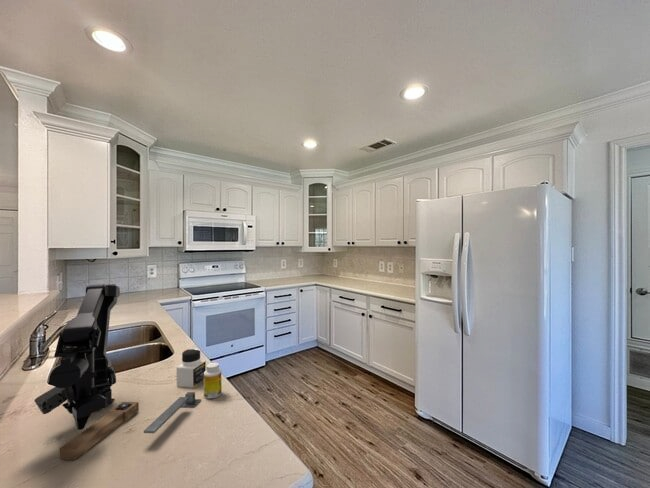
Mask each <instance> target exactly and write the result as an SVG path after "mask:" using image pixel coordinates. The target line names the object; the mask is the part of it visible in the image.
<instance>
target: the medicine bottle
mask: <svg viewBox="0 0 650 488" xmlns="http://www.w3.org/2000/svg"><path fill="white" fill-rule="evenodd" d="M181 356H182V357H181V360H182V361H181V362H182V363H180V364H179V365H178V366H176V386H177V387H180V388H191V389H194V388H196V387H197V386H199V384H200V383H203V382H204V372H205V371H206V366H207V364H206V363H207V362H206V360H205V359H201V350H200V349H199V348H196V347H195V348H188V349H185V350H184V351H182V353H181Z"/></svg>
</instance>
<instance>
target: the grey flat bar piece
mask: <svg viewBox="0 0 650 488" xmlns="http://www.w3.org/2000/svg"><path fill="white" fill-rule="evenodd" d="M184 395H185V396H179V398H177V399H176V400H175V401H174V402H173V403H172V404H171V405H169V407H168V408H167V409H165V410H164V411H163V412H162V413H161V414H160V415H159V416H158V417H156V419H155V420H154V421H153V422H151V424H149V425H148V426H147V427H146V428H145V429H144V430H143V434H155V433H157V431H158V430H159V429H160V428H161V427H162V426H163V425H165V423H167V421H168V420H170V419H171V418H172V417H173V415H175V414H176V412H177V411H178V410H180V408H194V409H195V408H196V407H197V405H199V403H201V401H202V398H201V399H200V398H196V392H193V391H187V392H186V393H185V394H184Z"/></svg>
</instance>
